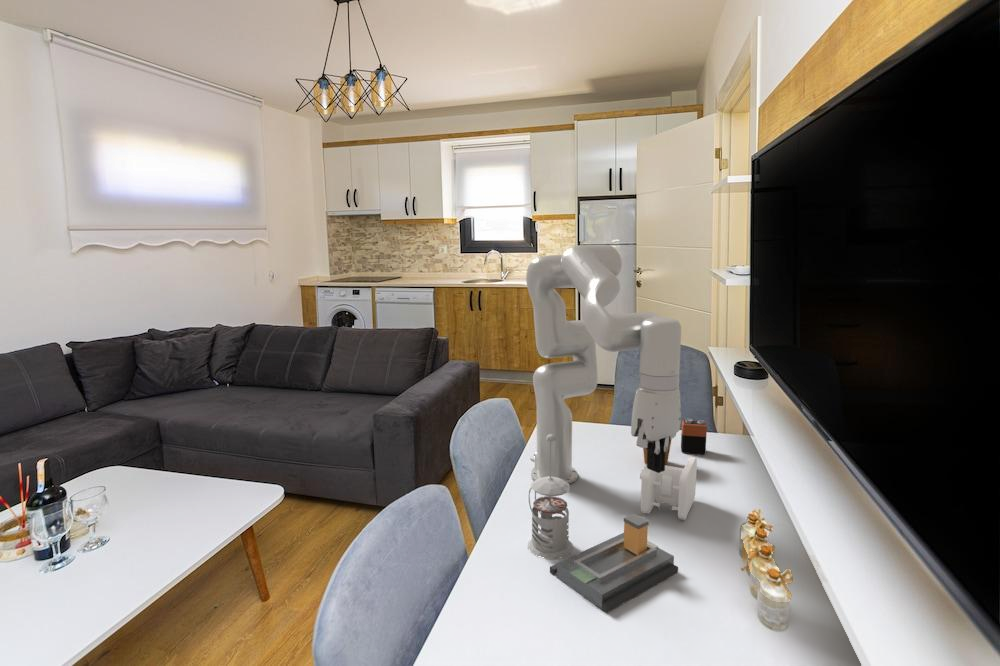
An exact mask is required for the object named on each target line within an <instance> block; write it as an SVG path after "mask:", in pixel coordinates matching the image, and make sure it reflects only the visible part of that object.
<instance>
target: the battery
mask: <svg viewBox="0 0 1000 666" xmlns="http://www.w3.org/2000/svg"><path fill="white" fill-rule="evenodd" d="M707 425H708V424H707V422H706V421H704V420H703V419H697V420H693V419H692V418H688V417H687V418H685V419H683V420H681V434H680V435H681V436H680V450H681V453H682V454H693V455H706V451H707V448H706V447H707V434H708V433H707V430H708V426H707Z"/></svg>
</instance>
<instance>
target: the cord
mask: <svg viewBox="0 0 1000 666" xmlns="http://www.w3.org/2000/svg"><path fill="white" fill-rule="evenodd" d="M549 573H550V574H552V575H553V576H555V575H557V563H555V564H552V565H551V566H549Z"/></svg>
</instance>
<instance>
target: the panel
mask: <svg viewBox="0 0 1000 666" xmlns="http://www.w3.org/2000/svg"><path fill="white" fill-rule="evenodd" d="M674 561H675V556H674V555H672V554H670V553H669V552H667V551H665V550H663V549H661V548H660V547H659V545H657V544H655V543H653V542H652V541H649V540H648V539H647V551H645V552H643V553H641V554H639V555H636V554H634V553H633V552H631V551H629V550H627V549H626V548H624V532H622V533H620V534H618V535H616V536H613V537H611V538H609V539H606V540H605V541H603V542H602V541H601V543H598V544H595V545H594V546H592V547H590V548H587V549H585V550H583V551H581V552H578V553H576V554H575V555H572V556H570V557H568V558H566V559H563V560H561V561H559V562H557V563H556V564H557V574H556V578H557V579H559V580H560V581H561V582H562V583H564V584H565V585H567V586H569V588H571V589H573V590H574V591H575V592H576V593H578V594H580V595H581V596H582V597H583V598H585V599H586V600H587V601H589V602H590V603H592V604H593V605H595V606H596V607H597V608H598V609H600V610H601V611H603V610H602V603H604V602H606V601H608V600H610V599H612V598H613V597H615V596H617V595H619V594H621V593H623V592H624V591H626V590H628V589H630V588H632V587H633V586H635V585H637V584H639V583H641V582H643V581H644V580H646V579H648V578H650V577H652V576H654V575H655V574H657V573H659V572H661V571H663V570H664V569H666V568H668V567H670V566H672V565H675V562H674Z"/></svg>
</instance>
